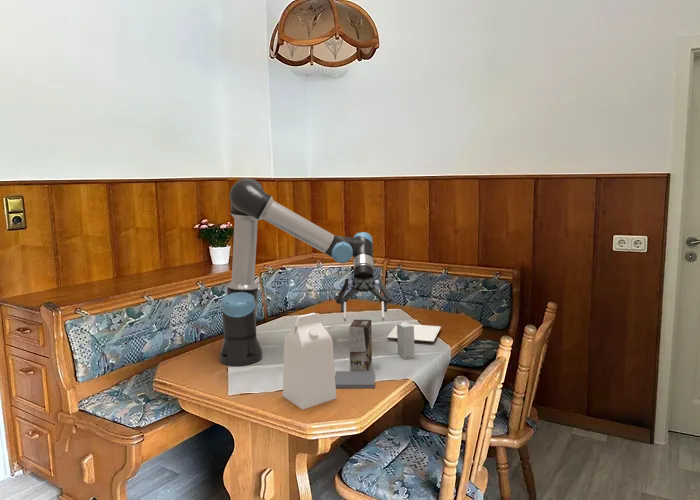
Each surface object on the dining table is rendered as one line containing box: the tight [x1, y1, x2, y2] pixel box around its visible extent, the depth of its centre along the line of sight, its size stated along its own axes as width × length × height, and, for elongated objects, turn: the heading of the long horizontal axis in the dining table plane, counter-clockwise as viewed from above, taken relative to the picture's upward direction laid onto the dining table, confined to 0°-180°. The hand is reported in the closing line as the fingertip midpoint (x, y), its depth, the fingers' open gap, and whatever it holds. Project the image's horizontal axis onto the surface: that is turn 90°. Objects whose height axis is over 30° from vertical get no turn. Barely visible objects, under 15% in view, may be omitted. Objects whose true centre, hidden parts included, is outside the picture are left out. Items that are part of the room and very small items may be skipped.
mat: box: [335, 370, 376, 389], centre depth 178 cm, size 11×13×1 cm
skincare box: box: [396, 321, 416, 360], centre depth 198 cm, size 6×4×12 cm
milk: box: [282, 312, 337, 410], centre depth 164 cm, size 12×12×26 cm
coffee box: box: [349, 319, 373, 371], centre depth 188 cm, size 9×6×16 cm
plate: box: [386, 323, 442, 344], centre depth 221 cm, size 19×19×2 cm
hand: (364, 319), depth 194 cm, fingers open, 13 cm apart
